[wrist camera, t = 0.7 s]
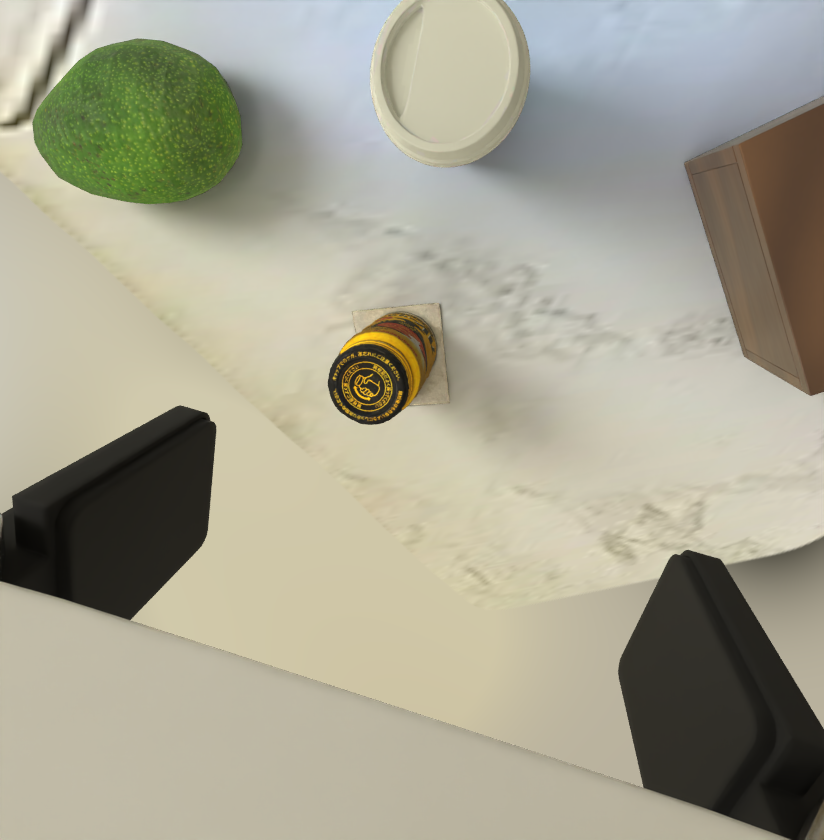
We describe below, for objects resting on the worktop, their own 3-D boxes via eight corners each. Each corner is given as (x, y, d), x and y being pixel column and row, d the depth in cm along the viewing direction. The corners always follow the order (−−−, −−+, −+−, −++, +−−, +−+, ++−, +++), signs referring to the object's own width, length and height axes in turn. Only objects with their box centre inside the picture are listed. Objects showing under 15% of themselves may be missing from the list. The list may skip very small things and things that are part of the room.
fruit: (109, 216, 45) (6, 215, 36) (74, 81, 42) (-50, 42, 33) (275, 197, 42) (208, 190, 33) (251, 50, 39) (169, -3, 30)
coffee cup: (468, 12, 36) (447, -82, 25) (552, 112, 37) (568, 65, 26) (382, 116, 39) (329, 74, 28) (461, 206, 40) (441, 200, 29)
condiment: (439, 302, 43) (412, 330, 32) (449, 402, 46) (428, 460, 34) (352, 311, 44) (298, 340, 33) (367, 407, 47) (322, 464, 36)
